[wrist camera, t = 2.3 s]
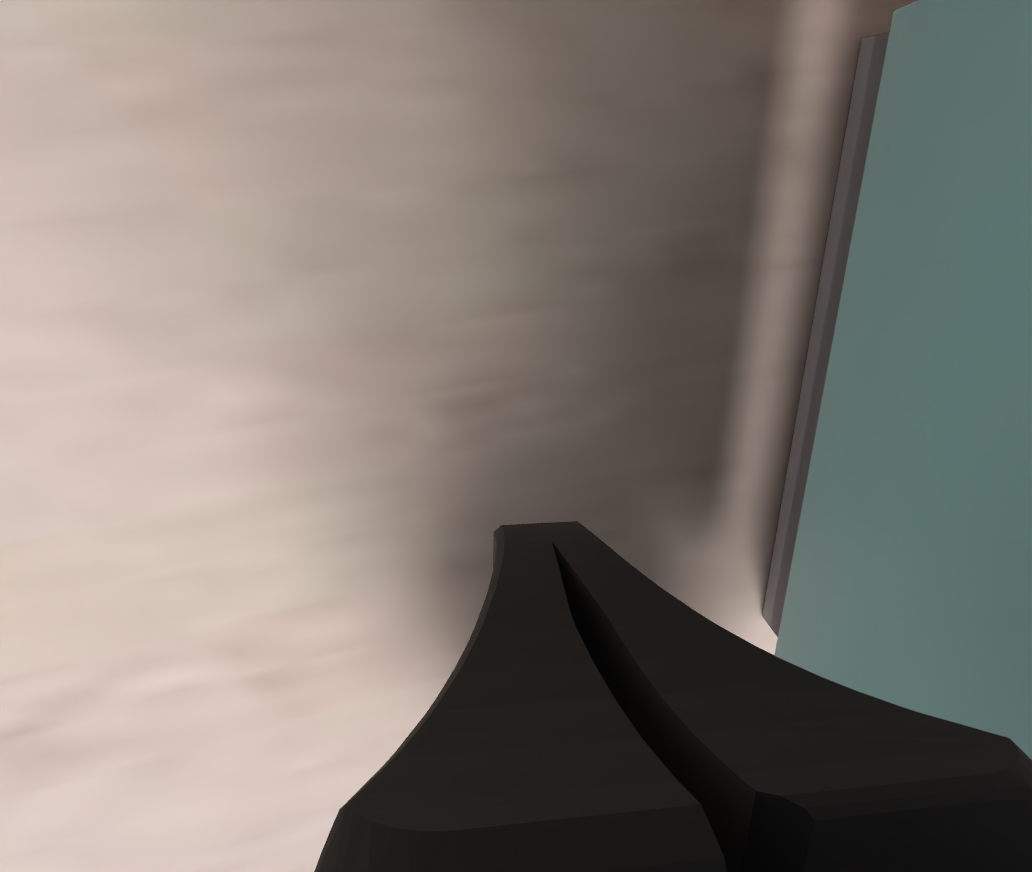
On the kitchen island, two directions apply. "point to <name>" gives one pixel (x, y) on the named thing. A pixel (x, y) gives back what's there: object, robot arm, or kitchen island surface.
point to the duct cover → (931, 391)
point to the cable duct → (825, 315)
